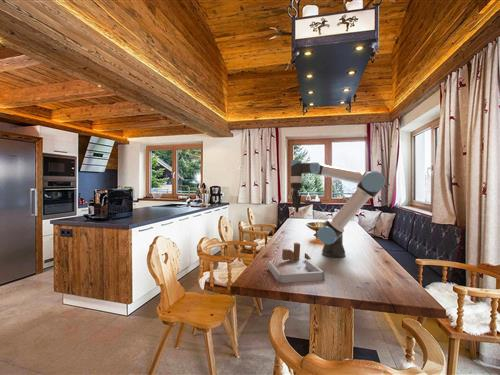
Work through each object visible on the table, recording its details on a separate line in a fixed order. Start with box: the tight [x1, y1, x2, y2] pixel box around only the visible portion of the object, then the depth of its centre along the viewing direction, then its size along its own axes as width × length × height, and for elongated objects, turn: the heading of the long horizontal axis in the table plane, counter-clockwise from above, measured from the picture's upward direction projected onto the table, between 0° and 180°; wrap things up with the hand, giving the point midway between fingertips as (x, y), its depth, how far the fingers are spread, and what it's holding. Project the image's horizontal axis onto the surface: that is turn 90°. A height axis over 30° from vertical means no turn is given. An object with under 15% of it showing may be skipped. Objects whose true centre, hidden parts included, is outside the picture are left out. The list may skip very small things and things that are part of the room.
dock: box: [268, 259, 326, 284], centre depth 137 cm, size 24×22×4 cm
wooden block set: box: [281, 242, 311, 261], centre depth 160 cm, size 18×9×10 cm, turn 108°
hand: (296, 216), depth 173 cm, fingers closed
